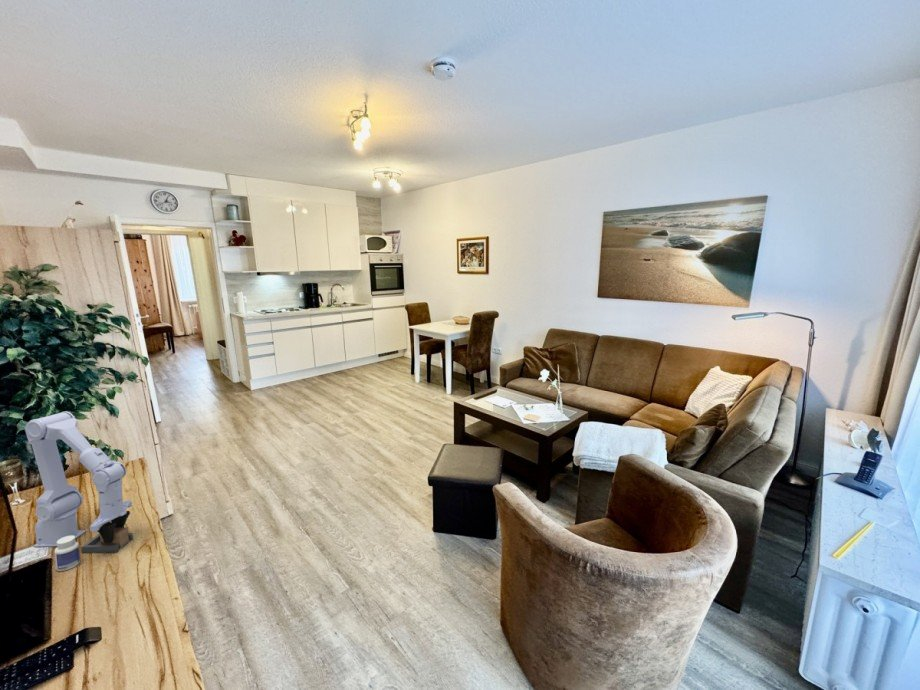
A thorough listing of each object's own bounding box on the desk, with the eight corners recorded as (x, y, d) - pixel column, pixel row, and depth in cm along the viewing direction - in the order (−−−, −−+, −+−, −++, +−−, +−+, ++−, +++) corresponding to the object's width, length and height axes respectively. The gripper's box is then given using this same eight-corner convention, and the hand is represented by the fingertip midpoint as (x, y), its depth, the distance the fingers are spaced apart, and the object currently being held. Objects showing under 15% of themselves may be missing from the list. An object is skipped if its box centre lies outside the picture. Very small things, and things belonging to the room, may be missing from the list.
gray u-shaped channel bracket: (81, 553, 121) (80, 547, 121) (99, 539, 128) (99, 533, 128) (116, 552, 122) (116, 546, 122) (132, 538, 129) (132, 533, 129)
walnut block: (100, 548, 123) (99, 534, 122) (109, 541, 127) (108, 527, 126) (120, 547, 124) (119, 533, 123) (128, 540, 127) (127, 527, 127)
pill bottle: (84, 562, 117) (82, 536, 116) (62, 573, 112) (59, 546, 111) (73, 557, 119) (71, 532, 118) (51, 568, 114) (49, 542, 113)
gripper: (106, 512, 116) (108, 552, 118) (140, 489, 131) (142, 524, 132) (81, 513, 116) (84, 552, 117) (118, 489, 130) (120, 524, 132)
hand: (113, 537), depth 125 cm, fingers closed on walnut block, 3 cm apart
